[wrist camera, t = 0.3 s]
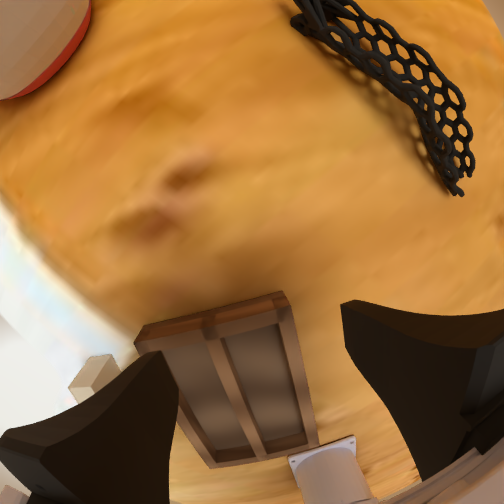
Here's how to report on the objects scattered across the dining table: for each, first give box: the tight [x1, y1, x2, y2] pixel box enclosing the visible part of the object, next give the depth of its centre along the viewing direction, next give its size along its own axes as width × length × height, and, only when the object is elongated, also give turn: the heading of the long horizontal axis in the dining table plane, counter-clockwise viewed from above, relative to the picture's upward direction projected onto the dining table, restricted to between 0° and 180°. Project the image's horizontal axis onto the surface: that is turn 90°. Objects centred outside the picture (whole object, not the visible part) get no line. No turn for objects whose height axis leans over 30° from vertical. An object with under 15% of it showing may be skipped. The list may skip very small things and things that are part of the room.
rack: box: [134, 291, 320, 469], centre depth 20 cm, size 16×11×3 cm
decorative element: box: [290, 0, 475, 197], centre depth 15 cm, size 22×5×6 cm, turn 48°
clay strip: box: [68, 354, 121, 404], centre depth 19 cm, size 12×2×5 cm, turn 15°
